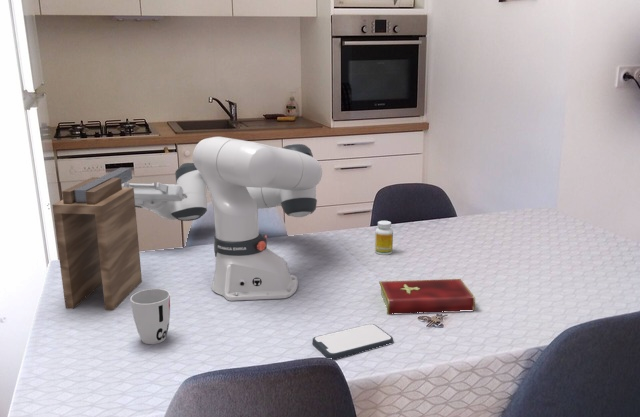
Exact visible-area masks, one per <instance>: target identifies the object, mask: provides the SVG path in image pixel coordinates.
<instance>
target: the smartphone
mask: <svg viewBox="0 0 640 417" xmlns="http://www.w3.org/2000/svg"><path fill="white" fill-rule="evenodd" d="M392 342H393V343H394V338H393V336H392V335H390V334H389V333H388V332H386V331H385V330H383V329H382V328H380V327H379V326H378V325H376V324H374V323H368V324H363V325H359V326H355V327H352V328H351V327H350V328H347V329H343V330H338V331H334V332H329V333H325V334H321V335H317V336H315V337H313V338H312V345H313V347H315V348H316V349H317V350H318V351H319V352H320V353H321V354H322V355H323V356H325V357H326V358H327V357H328V358H332V359H334V360H338V359H337V358H339V359H341V358H340V357H342V358H345V357H344V356H346V357H349V356H348V355H350V356H353V355H357V354H360V353H359V352H361V353H363V352H362V351H364V352H366V351H365V350H368V351H370V350H369V349H371V350H373V349H372V348H375V349H377V348H376V347H378V348H380V347H379V346H382V347H384V346H383V345H386V344H389V343H392ZM393 343H392V344H393ZM389 345H390V344H389ZM386 346H387V345H386ZM356 353H357V354H356ZM352 354H353V355H352ZM328 358H327V359H328Z"/></svg>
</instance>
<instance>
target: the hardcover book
mask: <svg viewBox="0 0 640 417" xmlns="http://www.w3.org/2000/svg"><path fill="white" fill-rule="evenodd" d="M378 282H379V286H380V296H381V299H382V298H383V299H382V301H383V303H385V304H384V306H385V305H386V306H385V308H387V309H386V314H387V315H395V314H394V313H413V314H420V313H419V312H423V313H422V314H425V313H424V312H442V311H443V312H442V313H445V312H444V311H460V310H475V309H476V297H475V296H474V294H473V293H472V292H471V290H470V289H469V288H468V287H467V285H466V284H465V282H463V280H462V279H461V278H452V279H451V278H449V279H448V278H446V279H445V278H444V279H420V280H418V279H416V280H414V279H413V280H388V281H386V280H383V281H378ZM475 311H476V310H475ZM417 312H418V313H417ZM392 313H393V314H392Z"/></svg>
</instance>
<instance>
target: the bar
mask: <svg viewBox="0 0 640 417" xmlns="http://www.w3.org/2000/svg"><path fill="white" fill-rule="evenodd" d="M112 178H121V183H122V184H123V183H125V182H129V181H131V180H132V179H133V174H132V168H131V167H119V168H117V169H115V170H113V171H111V172H109V173H106V174H104V175H102V176H101V177H100V178H98V179H96V180H94V181H92V182H90V183H88V184H85V185H83V186H81V187H79V188H77V189H75V190H74V197H75V203H87V202H86V193H85V192H86V191H88V190H90V189H92V188H94V187H96V186H98V185H100V184H102V183H104V182H106V181H108V180H110V179H112Z"/></svg>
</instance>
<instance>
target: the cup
mask: <svg viewBox="0 0 640 417" xmlns="http://www.w3.org/2000/svg"><path fill="white" fill-rule="evenodd" d="M130 306H131V311H132V316H133V320H134V323H135V324H134V325H135V327H136V330H137V333H138V335H139V338H140V339H141V341H142V343H144V345H145V344H146V345H157V344H160V343H162V342H164V341H165V340H166V339H167V336H168V330H169V327H170V318H171V293H170V292H169V290H167V289H164V288H162V289H161V288H148V289H143V290H140V291H137V292H135V293H133V294H132V295H131V296H130Z"/></svg>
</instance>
